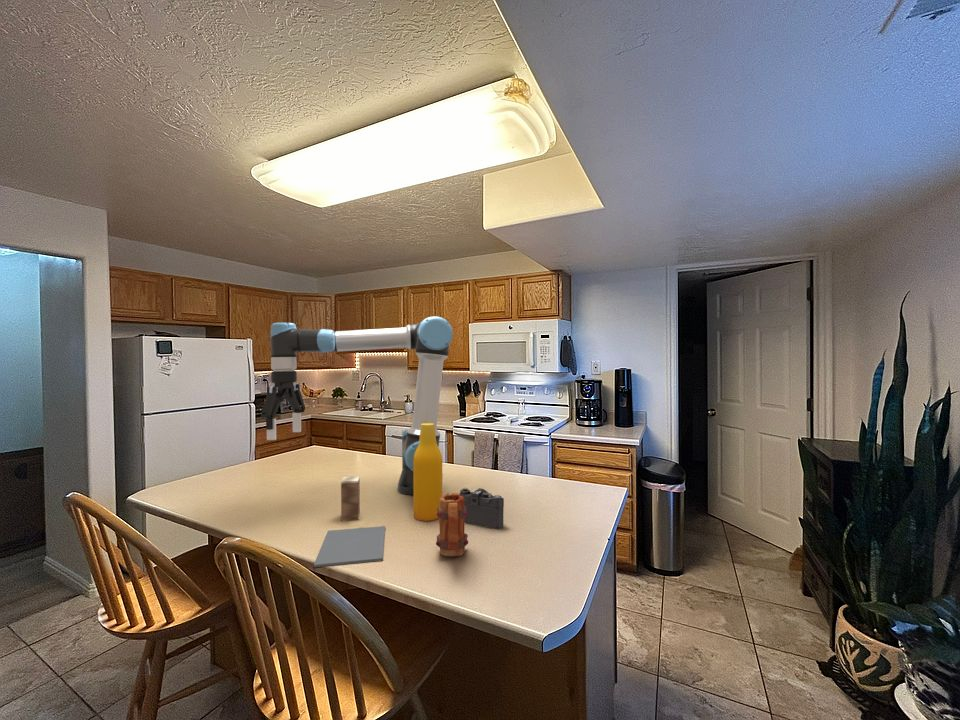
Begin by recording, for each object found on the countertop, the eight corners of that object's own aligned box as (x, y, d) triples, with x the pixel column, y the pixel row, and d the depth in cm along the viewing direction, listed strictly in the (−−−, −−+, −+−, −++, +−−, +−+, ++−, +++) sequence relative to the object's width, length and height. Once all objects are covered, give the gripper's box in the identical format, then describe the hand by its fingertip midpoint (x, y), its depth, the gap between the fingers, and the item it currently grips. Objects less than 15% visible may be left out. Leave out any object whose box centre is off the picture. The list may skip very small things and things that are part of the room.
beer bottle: (407, 518, 127) (407, 425, 127) (422, 508, 135) (422, 421, 135) (434, 523, 123) (433, 427, 123) (447, 512, 132) (447, 422, 132)
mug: (436, 545, 109) (436, 488, 109) (467, 543, 109) (466, 487, 109) (435, 573, 94) (434, 508, 94) (470, 571, 95) (470, 507, 95)
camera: (513, 518, 127) (513, 486, 127) (499, 531, 118) (499, 496, 118) (472, 510, 134) (472, 480, 134) (456, 522, 124) (455, 489, 124)
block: (359, 513, 132) (359, 476, 132) (358, 519, 127) (357, 480, 127) (343, 514, 131) (343, 477, 131) (341, 520, 126) (341, 481, 126)
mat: (385, 527, 120) (385, 525, 120) (382, 560, 100) (382, 558, 100) (328, 532, 117) (328, 530, 117) (313, 567, 97) (313, 564, 97)
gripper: (295, 369, 146) (296, 429, 146) (246, 371, 121) (247, 443, 121) (315, 369, 145) (316, 429, 145) (269, 371, 120) (271, 443, 120)
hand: (284, 435), depth 133 cm, fingers open, 13 cm apart
